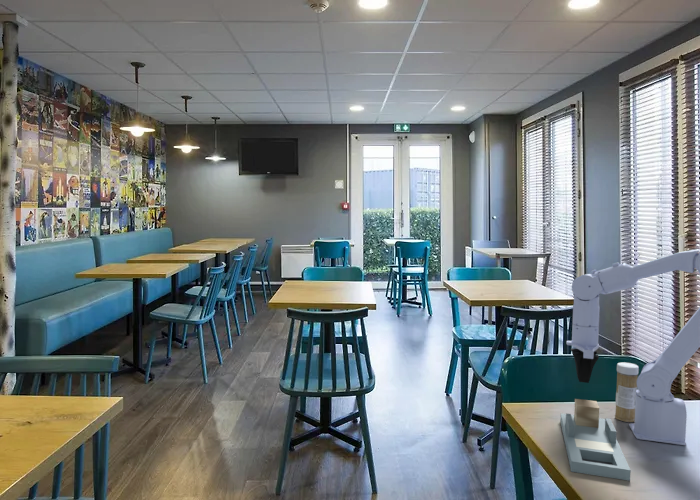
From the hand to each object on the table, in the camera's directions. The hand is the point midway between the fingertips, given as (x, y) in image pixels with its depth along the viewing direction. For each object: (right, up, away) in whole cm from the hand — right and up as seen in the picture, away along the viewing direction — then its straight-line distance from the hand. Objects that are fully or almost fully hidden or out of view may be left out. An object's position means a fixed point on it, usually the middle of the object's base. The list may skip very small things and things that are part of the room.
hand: (583, 380), depth 120 cm
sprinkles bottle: (+11, -10, +1) cm, 14 cm away
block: (-2, -8, -7) cm, 11 cm away
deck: (-5, -10, -15) cm, 19 cm away
